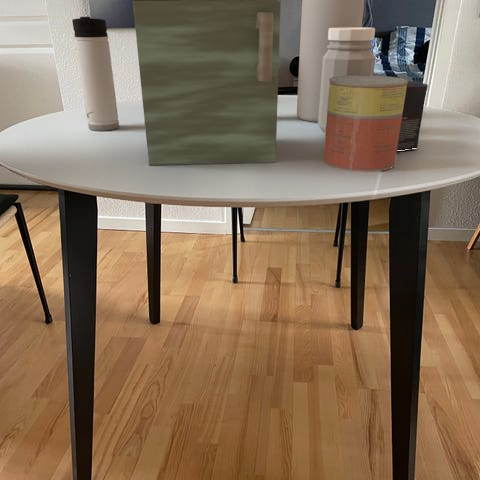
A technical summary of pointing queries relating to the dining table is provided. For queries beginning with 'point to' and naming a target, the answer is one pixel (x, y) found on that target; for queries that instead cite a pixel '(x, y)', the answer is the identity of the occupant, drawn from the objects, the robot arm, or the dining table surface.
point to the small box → (412, 115)
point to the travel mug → (96, 73)
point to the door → (209, 80)
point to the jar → (345, 60)
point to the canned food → (363, 122)
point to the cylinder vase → (320, 46)
